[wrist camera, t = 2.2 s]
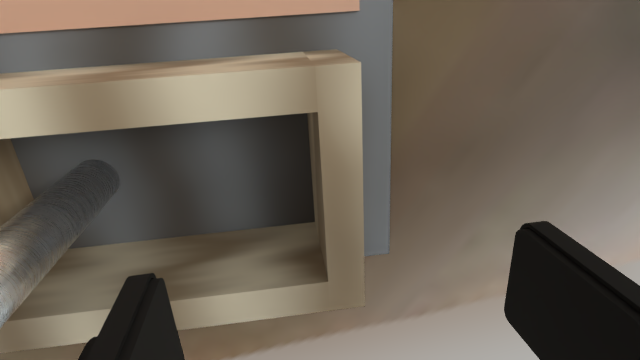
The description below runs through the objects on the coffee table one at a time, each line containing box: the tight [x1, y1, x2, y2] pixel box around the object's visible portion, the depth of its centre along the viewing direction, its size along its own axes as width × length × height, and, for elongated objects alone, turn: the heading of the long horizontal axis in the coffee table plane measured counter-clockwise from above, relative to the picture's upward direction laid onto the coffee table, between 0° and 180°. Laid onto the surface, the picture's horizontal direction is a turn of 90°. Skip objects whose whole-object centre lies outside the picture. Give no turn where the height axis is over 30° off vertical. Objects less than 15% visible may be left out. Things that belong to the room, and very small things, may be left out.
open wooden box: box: [0, 49, 365, 354], centre depth 16 cm, size 16×10×5 cm, turn 93°
